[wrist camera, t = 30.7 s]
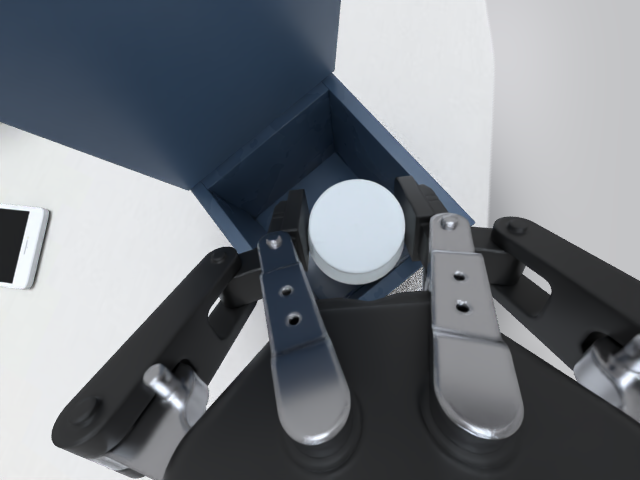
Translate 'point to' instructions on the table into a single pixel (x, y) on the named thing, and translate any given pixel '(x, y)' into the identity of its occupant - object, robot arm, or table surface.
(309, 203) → the chest
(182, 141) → the lid
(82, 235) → the table surface
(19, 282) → the cell phone
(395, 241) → the pill bottle
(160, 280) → the table surface
